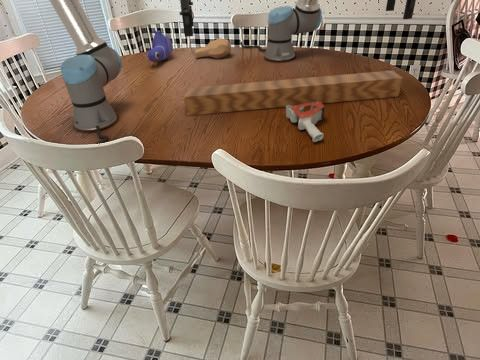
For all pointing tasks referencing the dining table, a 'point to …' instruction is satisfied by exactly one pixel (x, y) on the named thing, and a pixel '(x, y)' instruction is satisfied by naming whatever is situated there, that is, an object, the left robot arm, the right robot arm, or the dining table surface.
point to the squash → (215, 49)
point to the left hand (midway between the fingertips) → (189, 31)
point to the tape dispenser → (307, 118)
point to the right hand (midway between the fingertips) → (398, 14)
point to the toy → (160, 47)
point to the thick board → (291, 92)
